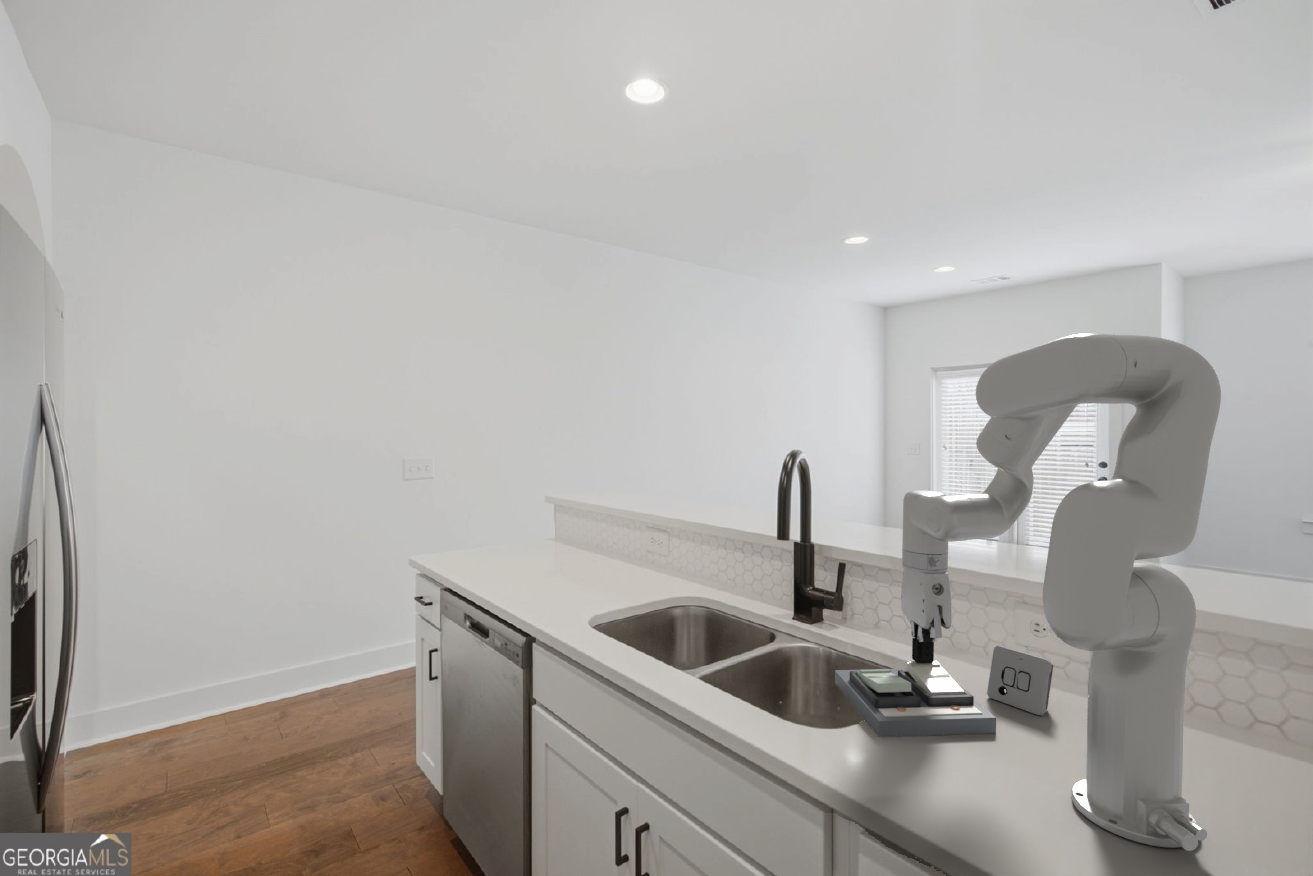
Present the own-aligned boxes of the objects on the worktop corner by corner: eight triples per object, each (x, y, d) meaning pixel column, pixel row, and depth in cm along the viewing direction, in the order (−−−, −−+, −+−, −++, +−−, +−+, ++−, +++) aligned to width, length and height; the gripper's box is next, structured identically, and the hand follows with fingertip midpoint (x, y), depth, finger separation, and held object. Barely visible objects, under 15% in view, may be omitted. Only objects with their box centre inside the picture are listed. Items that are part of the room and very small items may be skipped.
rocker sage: (911, 692, 104) (910, 680, 104) (878, 693, 103) (877, 681, 104) (888, 680, 113) (887, 668, 113) (858, 680, 112) (857, 669, 112)
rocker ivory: (962, 699, 105) (964, 689, 104) (930, 700, 104) (931, 690, 104) (936, 669, 113) (937, 659, 113) (906, 670, 113) (907, 660, 113)
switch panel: (996, 733, 99) (996, 708, 99) (879, 737, 98) (879, 711, 98) (932, 680, 119) (932, 660, 119) (834, 683, 118) (834, 662, 118)
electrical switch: (985, 698, 112) (989, 645, 112) (1000, 693, 115) (1003, 642, 115) (1042, 718, 104) (1045, 662, 104) (1056, 713, 107) (1059, 658, 107)
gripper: (968, 570, 104) (965, 678, 105) (924, 550, 119) (922, 645, 120) (924, 571, 104) (922, 679, 105) (886, 551, 119) (884, 646, 120)
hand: (922, 661), depth 112 cm, fingers closed
